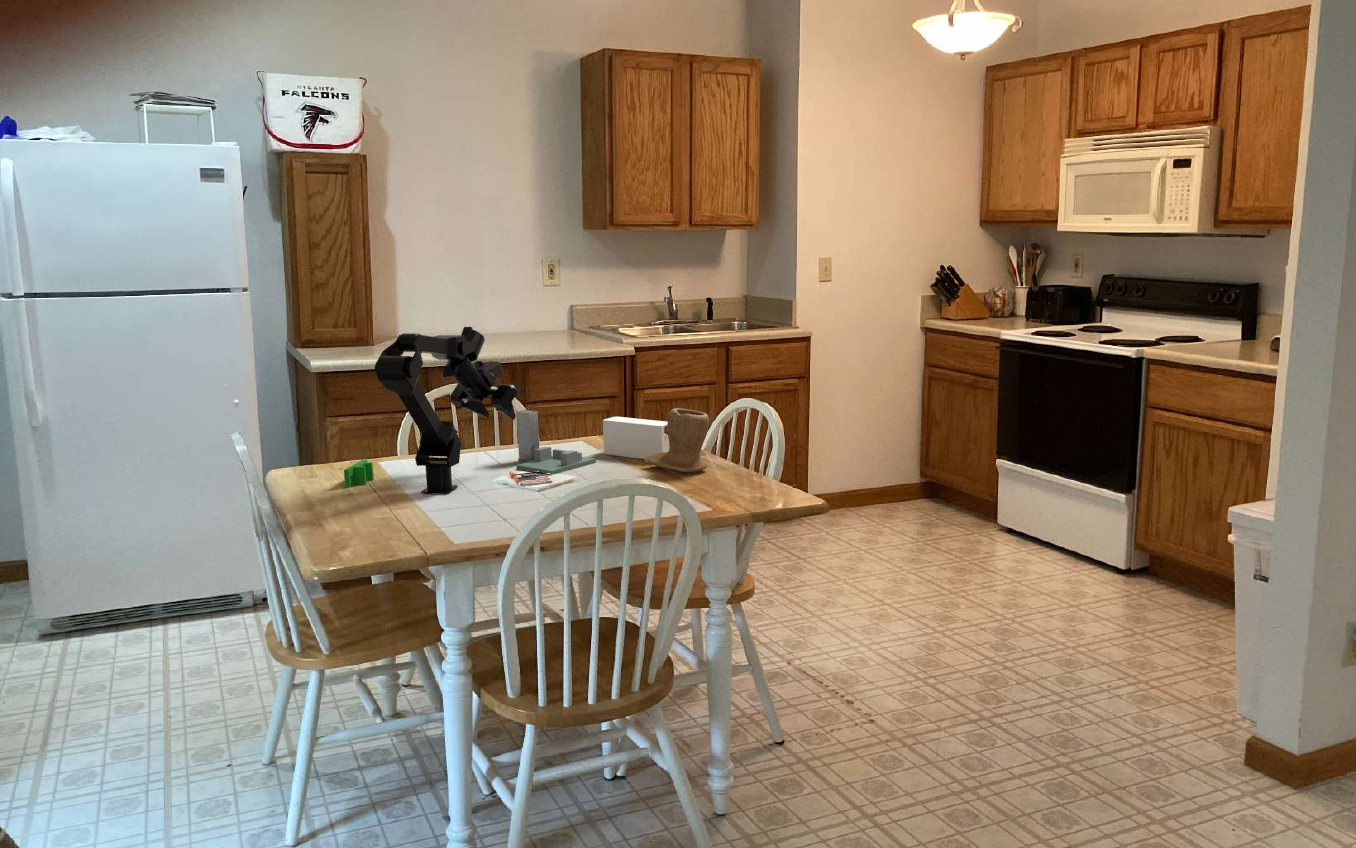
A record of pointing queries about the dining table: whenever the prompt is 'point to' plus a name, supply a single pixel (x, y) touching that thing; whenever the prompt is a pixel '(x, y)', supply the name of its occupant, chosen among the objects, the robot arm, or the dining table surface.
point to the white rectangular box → (634, 437)
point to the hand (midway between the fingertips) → (501, 417)
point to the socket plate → (555, 461)
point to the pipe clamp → (358, 473)
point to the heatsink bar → (527, 435)
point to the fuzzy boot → (683, 442)
